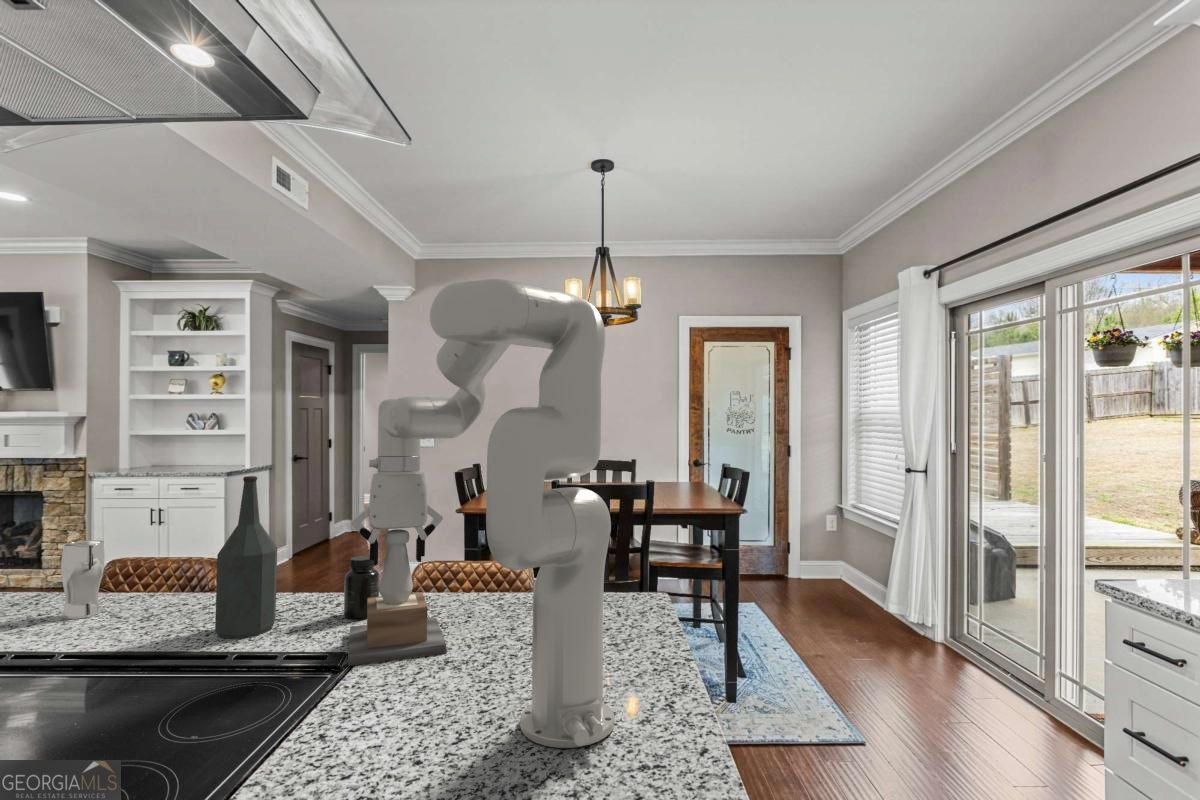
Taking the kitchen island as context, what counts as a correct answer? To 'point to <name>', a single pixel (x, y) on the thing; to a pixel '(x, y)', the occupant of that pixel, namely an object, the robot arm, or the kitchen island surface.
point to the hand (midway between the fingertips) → (397, 561)
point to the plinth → (394, 649)
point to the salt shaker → (396, 569)
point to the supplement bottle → (360, 587)
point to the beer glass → (82, 577)
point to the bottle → (246, 574)
